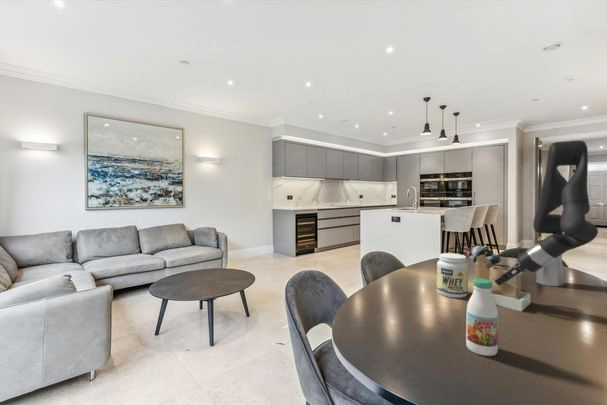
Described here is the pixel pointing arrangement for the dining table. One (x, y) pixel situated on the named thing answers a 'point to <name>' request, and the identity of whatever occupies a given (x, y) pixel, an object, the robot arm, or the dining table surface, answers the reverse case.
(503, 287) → the oak crate
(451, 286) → the supplement tub
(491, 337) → the milk bottle
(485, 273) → the sandwich container
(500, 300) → the grey crate
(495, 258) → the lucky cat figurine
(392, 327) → the dining table surface
